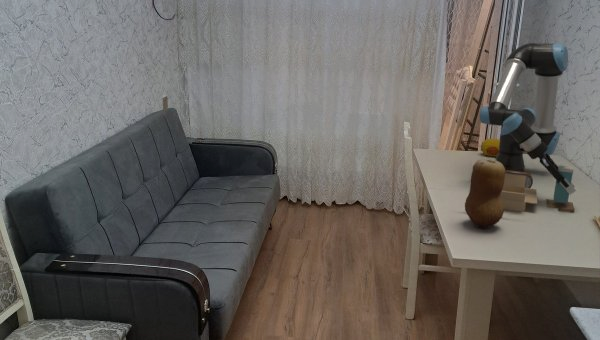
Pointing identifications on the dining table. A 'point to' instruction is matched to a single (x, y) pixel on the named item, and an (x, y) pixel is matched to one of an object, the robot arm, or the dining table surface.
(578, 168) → the dining table surface
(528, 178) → the tin
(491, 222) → the butternut squash
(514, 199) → the carton
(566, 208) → the walnut board
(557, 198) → the teal box
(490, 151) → the lantern
